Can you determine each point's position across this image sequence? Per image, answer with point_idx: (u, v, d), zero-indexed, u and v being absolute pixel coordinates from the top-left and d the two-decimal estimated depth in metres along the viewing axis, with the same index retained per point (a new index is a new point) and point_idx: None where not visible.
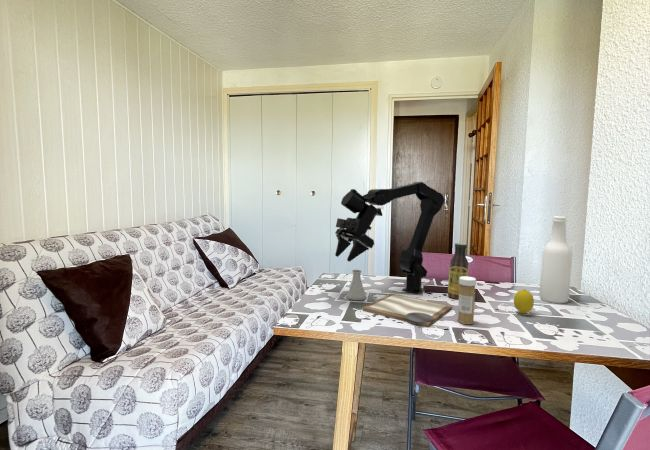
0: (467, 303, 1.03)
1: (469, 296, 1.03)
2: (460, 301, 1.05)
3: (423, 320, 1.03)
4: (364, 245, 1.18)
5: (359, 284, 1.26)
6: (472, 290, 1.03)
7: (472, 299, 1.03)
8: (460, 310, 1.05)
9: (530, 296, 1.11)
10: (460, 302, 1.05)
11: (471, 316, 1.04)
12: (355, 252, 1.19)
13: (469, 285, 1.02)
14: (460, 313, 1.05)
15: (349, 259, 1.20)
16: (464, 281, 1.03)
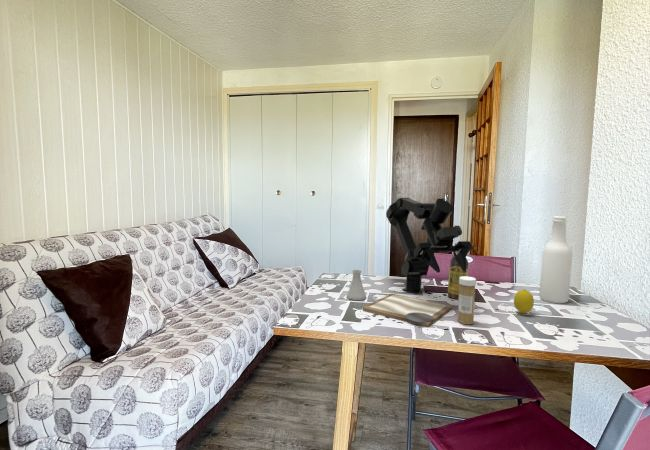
0: (467, 303, 1.03)
1: (469, 296, 1.03)
2: (460, 301, 1.05)
3: (423, 320, 1.03)
4: None
5: (359, 284, 1.26)
6: (472, 290, 1.03)
7: (472, 299, 1.03)
8: (460, 310, 1.05)
9: (530, 296, 1.11)
10: (460, 302, 1.05)
11: (471, 316, 1.04)
12: None
13: (469, 285, 1.02)
14: (460, 313, 1.05)
15: None
16: (464, 281, 1.03)
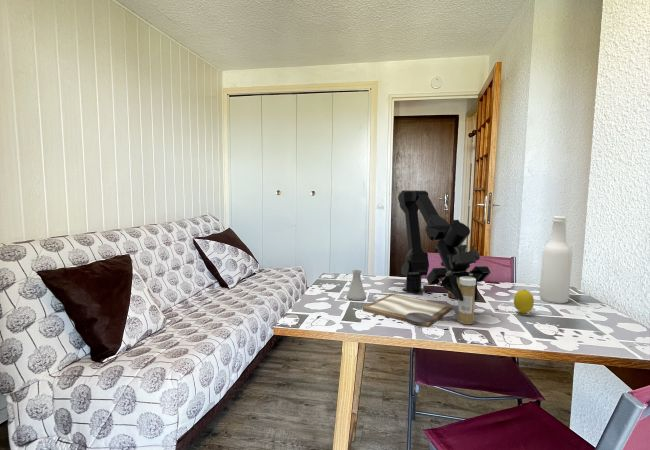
0: (467, 303, 1.03)
1: (469, 296, 1.03)
2: (460, 301, 1.05)
3: (423, 320, 1.03)
4: None
5: (359, 284, 1.26)
6: (472, 290, 1.03)
7: (472, 299, 1.03)
8: (460, 310, 1.05)
9: (530, 296, 1.11)
10: (460, 302, 1.05)
11: (471, 316, 1.04)
12: None
13: (469, 285, 1.02)
14: (460, 313, 1.05)
15: None
16: (464, 281, 1.03)
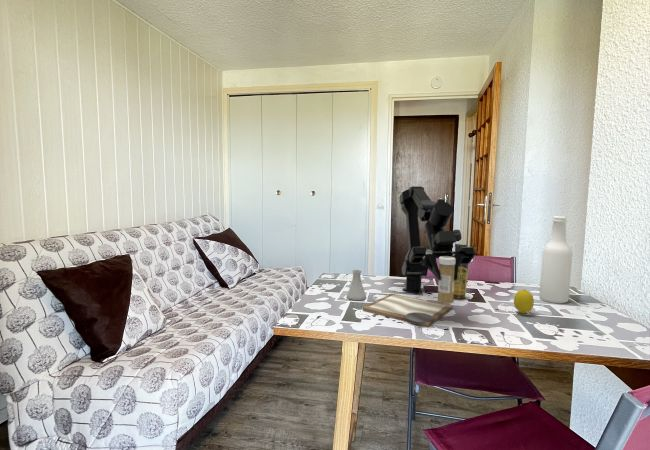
0: (445, 282, 1.02)
1: (447, 276, 1.02)
2: (439, 280, 1.04)
3: (423, 320, 1.03)
4: None
5: (359, 284, 1.26)
6: (450, 269, 1.02)
7: (450, 279, 1.02)
8: (439, 289, 1.04)
9: (530, 296, 1.11)
10: (439, 281, 1.04)
11: (449, 296, 1.03)
12: None
13: (447, 264, 1.02)
14: (439, 292, 1.04)
15: None
16: (442, 260, 1.02)
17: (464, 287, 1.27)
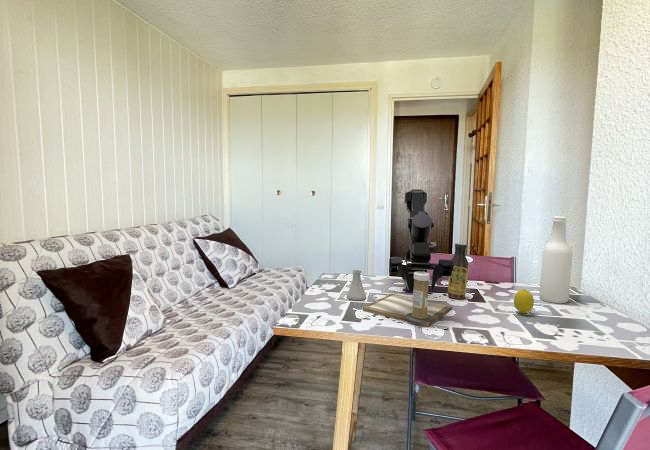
0: (417, 297, 1.04)
1: (419, 291, 1.03)
2: (413, 295, 1.06)
3: (423, 320, 1.03)
4: None
5: (359, 284, 1.26)
6: (423, 285, 1.03)
7: (422, 294, 1.03)
8: (413, 304, 1.06)
9: (530, 296, 1.11)
10: (413, 296, 1.06)
11: (421, 311, 1.04)
12: None
13: (419, 280, 1.03)
14: (413, 307, 1.06)
15: (433, 289, 1.04)
16: (415, 275, 1.04)
17: (464, 287, 1.27)
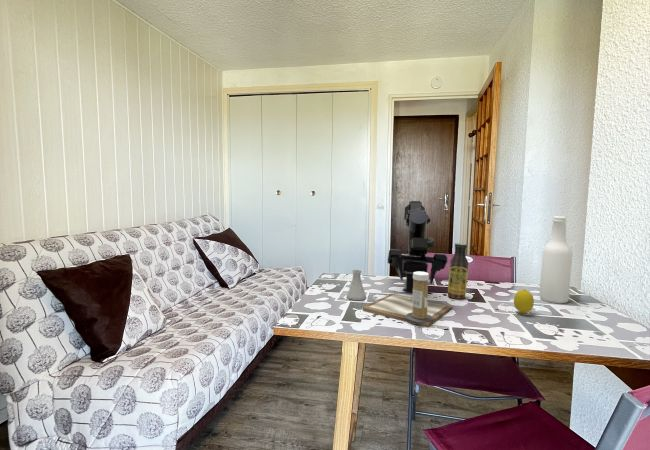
0: (416, 297, 1.04)
1: (418, 291, 1.04)
2: None
3: (423, 320, 1.03)
4: None
5: (359, 284, 1.26)
6: (422, 285, 1.03)
7: (422, 294, 1.03)
8: (412, 304, 1.06)
9: (530, 296, 1.11)
10: None
11: (421, 311, 1.04)
12: None
13: (418, 280, 1.03)
14: None
15: (432, 281, 1.14)
16: (414, 275, 1.04)
17: (464, 287, 1.27)
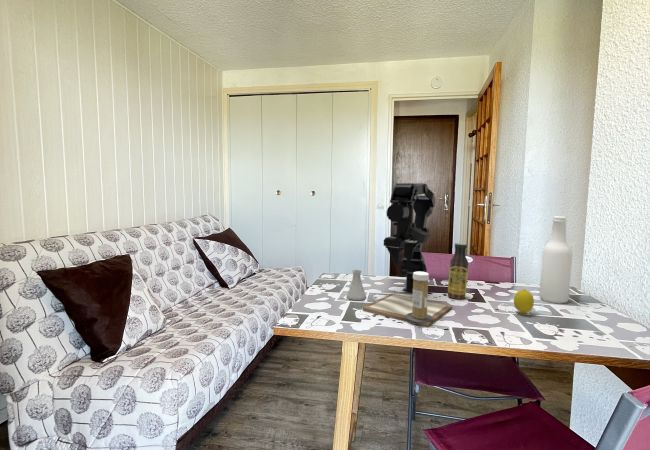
0: (416, 297, 1.04)
1: (418, 291, 1.04)
2: None
3: (423, 320, 1.03)
4: None
5: (359, 284, 1.26)
6: (422, 285, 1.03)
7: (422, 294, 1.03)
8: (412, 304, 1.06)
9: (530, 296, 1.11)
10: None
11: (421, 311, 1.04)
12: None
13: (418, 280, 1.03)
14: None
15: None
16: (414, 275, 1.04)
17: (464, 287, 1.27)
